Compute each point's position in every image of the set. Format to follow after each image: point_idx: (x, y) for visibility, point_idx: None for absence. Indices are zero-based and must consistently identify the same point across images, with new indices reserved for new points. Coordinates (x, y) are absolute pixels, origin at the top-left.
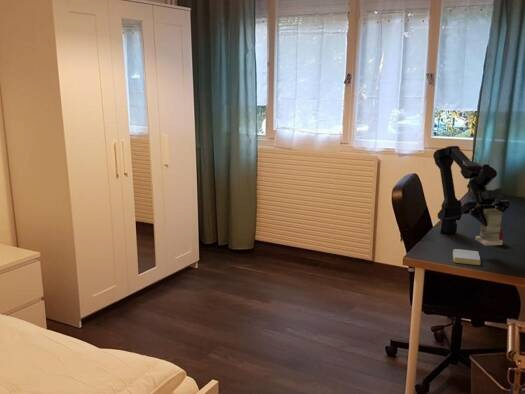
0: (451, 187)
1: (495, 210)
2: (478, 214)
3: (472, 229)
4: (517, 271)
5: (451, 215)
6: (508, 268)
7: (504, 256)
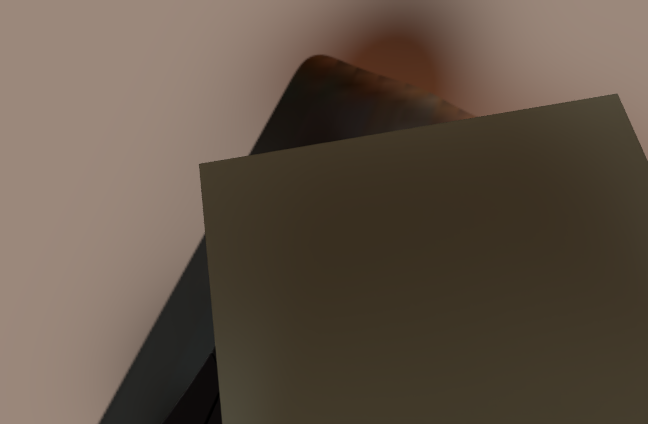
0: None
1: (351, 374)
2: None
3: None
4: (289, 103)
5: None
6: (310, 131)
7: None
